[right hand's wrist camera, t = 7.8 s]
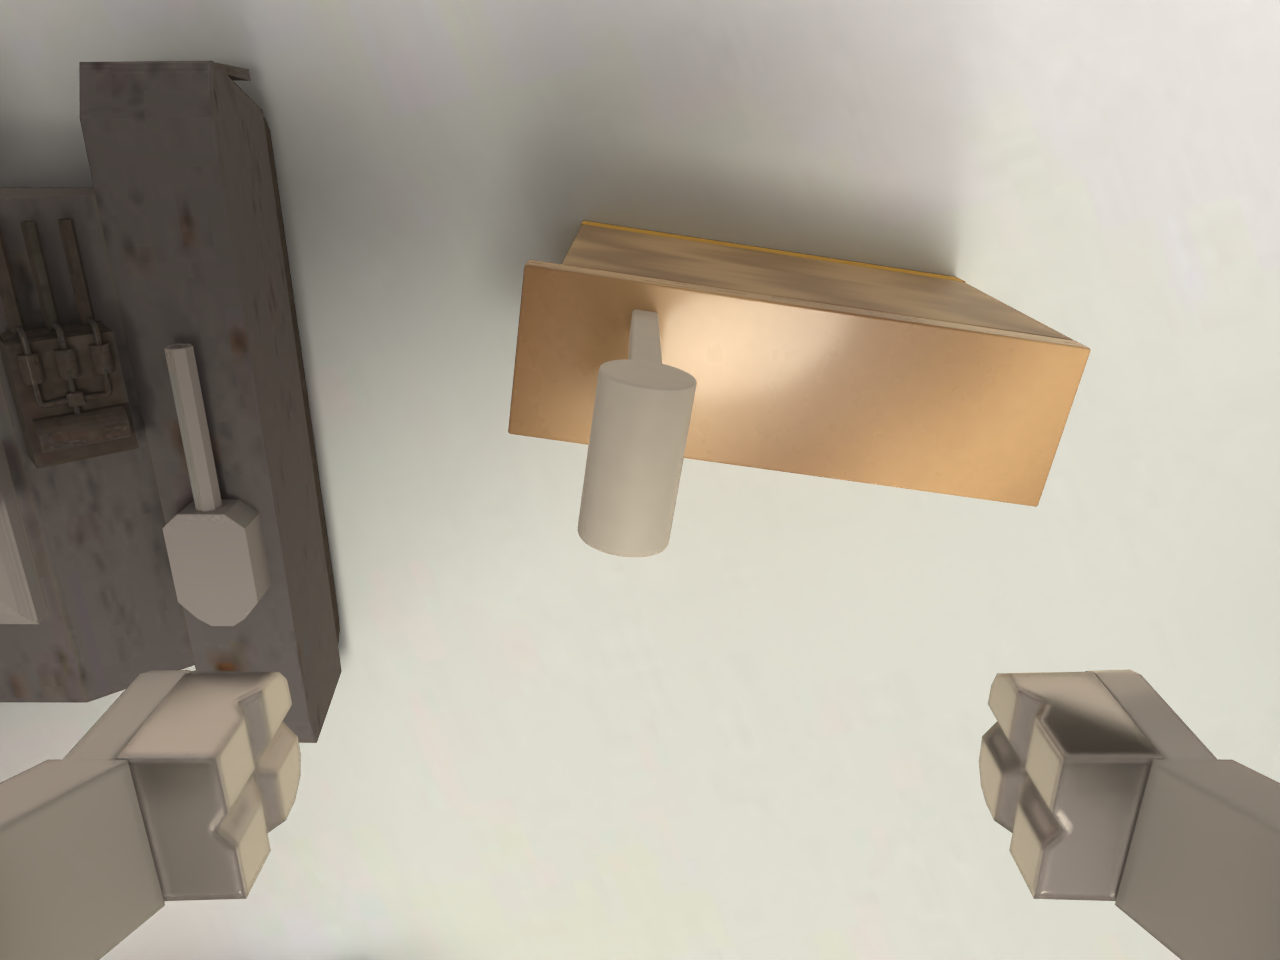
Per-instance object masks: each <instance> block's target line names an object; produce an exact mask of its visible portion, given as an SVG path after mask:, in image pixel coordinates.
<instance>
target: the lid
mask: <svg viewBox="0 0 1280 960" xmlns="http://www.w3.org/2000/svg"><path fill="white" fill-rule="evenodd" d="M1089 353H1090V348H1088V347H1086V346H1084V345H1082V344H1080V343H1078V342H1077V341H1073V340H1066V339H1059V338H1053V337H1046V336H1039V335H1033V334H1026V333H1019V332H1012V331H1006V330H999V329H992V328H986V327H979V326H972V325H965V324H959V323H952V322H945V321H939V320H932V319H925V318H918V317H912V316H905V315H898V314H891V313H885V312H878V311H871V310H865V309H858V308H851V307H844V306H838V305H831V304H824V303H818V302H811V301H804V300H797V299H791V298H784V297H777V296H770V295H764V294H757V293H750V292H744V291H737V290H730V289H723V288H717V287H710V286H703V285H697V284H690V283H683V282H676V281H670V280H663V279H656V278H649V277H643V276H636V275H629V274H623V273H616V272H609V271H602V270H596V269H589V268H582V267H576V266H569V265H562V264H555V263H549V262H542V261H535V260H529V261H528V262H527V263H526V265H525V266H524V275H523V285H522V296H521V306H520V316H519V327H518V337H517V347H516V357H515V368H514V378H513V388H512V398H511V409H510V419H509V429H508V432H509V433H510V434H516V435H523V436H530V437H538V438H545V439H552V440H559V441H566V442H574V443H581V444H588V445H589V447H588V455H587V462H586V470H585V477H584V485H583V492H582V500H581V507H580V515H579V522H578V533H579V536H580V537H581V539H582V540H583V541H584V542H585V543H586V544H588V545H589V546H591V547H593V548H595V549H597V550H599V551H602V552H605V553H608V554H612V555H617V556H624V557H646V556H651V555H655V554H658V553H660V552H662V551H663V550H664V549H665V548H666V547H667V545H668V543H669V538H670V532H671V527H672V521H673V515H674V510H675V504H676V498H677V493H678V487H679V481H680V476H681V470H682V464H683V459H684V458H689V459H696V460H704V461H711V462H718V463H725V464H733V465H740V466H747V467H754V468H761V469H769V470H776V471H783V472H790V473H798V474H805V475H812V476H819V477H826V478H834V479H841V480H848V481H855V482H863V483H870V484H877V485H884V486H892V487H899V488H906V489H913V490H920V491H928V492H935V493H942V494H949V495H957V496H964V497H971V498H978V499H985V500H993V501H1000V502H1007V503H1014V504H1022V505H1029V506H1038V503H1039V500H1040V497H1041V494H1042V491H1043V489H1044V486H1045V483H1046V480H1047V477H1048V474H1049V471H1050V468H1051V465H1052V462H1053V459H1054V456H1055V453H1056V450H1057V447H1058V444H1059V442H1060V439H1061V436H1062V433H1063V430H1064V427H1065V424H1066V421H1067V418H1068V415H1069V412H1070V409H1071V406H1072V403H1073V400H1074V397H1075V394H1076V392H1077V389H1078V386H1079V383H1080V380H1081V377H1082V374H1083V371H1084V368H1085V365H1086V362H1087V359H1088V356H1089Z"/></svg>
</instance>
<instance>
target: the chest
mask: <svg viewBox="0 0 1280 960" xmlns="http://www.w3.org/2000/svg"><path fill="white" fill-rule="evenodd" d="M562 265H569V266H576V267H582V268H589V269H596V270H602V271H609V272H616V273H623V274H629V275H636V276H643V277H649V278H656V279H663V280H670V281H676V282H683V283H690V284H697V285H703V286H710V287H717V288H723V289H730V290H737V291H744V292H750V293H757V294H764V295H770V296H777V297H784V298H791V299H797V300H804V301H811V302H818V303H824V304H831V305H838V306H844V307H851V308H858V309H865V310H871V311H878V312H885V313H891V314H898V315H905V316H912V317H918V318H925V319H932V320H939V321H945V322H952V323H959V324H965V325H972V326H979V327H986V328H992V329H999V330H1006V331H1012V332H1019V333H1026V334H1033V335H1039V336H1046V337H1053V338H1059V339H1066V340H1072V339H1070V338H1069V337H1067V336H1065V335H1063V334H1061V333H1059V332H1057V331H1055V330H1053V329H1052V328H1050V327H1048V326H1046V325H1044V324H1042V323H1040V322H1038V321H1036V320H1035V319H1033V318H1031V317H1029V316H1027V315H1025V314H1023V313H1021V312H1019V311H1017V310H1016V309H1014V308H1012V307H1010V306H1008V305H1006V304H1004V303H1002V302H1000V301H999V300H997V299H995V298H993V297H991V296H989V295H987V294H985V293H983V292H982V291H980V290H978V289H976V288H974V287H972V286H970V285H968V284H966V283H965V281H963V280H961V279H959V278H957V277H953V276H946V275H939V274H933V273H926V272H920V271H913V270H906V269H900V268H893V267H887V266H880V265H873V264H867V263H860V262H854V261H847V260H840V259H834V258H827V257H821V256H814V255H807V254H801V253H794V252H788V251H781V250H774V249H768V248H761V247H755V246H748V245H741V244H735V243H728V242H722V241H715V240H708V239H702V238H695V237H689V236H682V235H675V234H669V233H662V232H656V231H649V230H642V229H636V228H629V227H623V226H616V225H609V224H603V223H596V222H590V221H583V222H582V224H581V228H580V230H579V232H578V234H577V236H576V238H575V239H574V241H573V243H572V245H571V247H570V249H569V251H568V253H567V255H566V257H565V258H564V260H563V262H562Z"/></svg>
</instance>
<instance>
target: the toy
mask: <svg viewBox="0 0 1280 960" xmlns="http://www.w3.org/2000/svg"><path fill="white" fill-rule="evenodd" d="M233 80H250V74H249V69H244V68H239V67H234V66H229V65H224V64H219V63H215V62H213V61H159V62H80V121H81V126H82V131H83V136H84V141H85V146H86V151H87V156H88V161H89V165H90V170H91V175H92V180H93V185H94V188H0V702H89V701H92V700H95V699H98V698H101V697H104V696H107V695H109V694H112V693H115V692H118V691H121V690H124V689H127V688H128V686H129V685H130V684H131V683H132V682H133V681H134V680H135V679H136V678H137V677H138V676H139V674H141V673H145V672H148V671H152V670H181V669H184V668H187V667H190V666H193V665H195V667H196V671H245V672H279V673H281V674H282V675H283V676H284V677H285V678H286V679H287V682H288V687H289V691H290V696H291V701H292V705H291V707H290V709H289V710H288V712H287V714H286V716H285V717H284V719H283V722H284V723H285V724H286V725H287V726H288V727H289V728H290V729H291V730H292V731H293V732H294V733H295V734H296V735H297V736H298V741H299V742H302V743H317V740H318V737H319V735H320V732H321V729H322V726H323V723H324V720H325V717H326V714H327V711H328V709H329V706H330V703H331V700H332V697H333V694H334V691H335V688H336V685H337V682H338V680H339V677H340V674H341V665H340V657H339V650H338V641H339V617H338V610H337V603H336V596H335V589H334V582H333V575H332V567H331V560H330V553H329V546H328V539H327V532H326V525H325V518H324V511H323V504H322V497H321V489H320V482H319V475H318V468H317V461H316V454H315V447H314V440H313V433H312V426H311V419H310V411H309V404H308V397H307V390H306V383H305V376H304V369H303V362H302V355H301V348H300V341H299V333H298V326H297V319H296V312H295V305H294V298H293V291H292V284H291V277H290V270H289V262H288V255H287V248H286V241H285V234H284V227H283V220H282V213H281V206H280V199H279V192H278V184H277V177H276V170H275V163H274V156H273V149H272V142H271V135H270V130H269V127H268V125H267V122H266V120H265V118H264V116H263V112H262V110H261V109H260V108H259V107H258V106H257V105H256V104H255V103H254V102H253V101H252V100H251V99H250V98H249V97H248V96H247V95H246V94H245V93H244V92H243V91H242V90H241V89H240V88H239V87H238V86H237V85H236V84H235V83H234V81H233Z"/></svg>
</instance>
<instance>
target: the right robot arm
mask: <svg viewBox="0 0 1280 960" xmlns="http://www.w3.org/2000/svg"><path fill="white" fill-rule="evenodd" d="M291 705H292V701H291V696H290V691H289V687H288V682H287V679H286V678H285V677H284V676H283V675H282V674H281V673H279V672H245V671H196V670H195V671H189V670H152V671H148V672H145V673H141V674H139V676H138V677H137V678H136V679H135V680H134V681H133V682H132V683H131V684H130V685H129V686H128V688H127V689H126V690H125V691H124V692H123V693H122V694H121V695H120V696H119V698H118V699H117V700H116V701H115V702H114V703H113V704H112V705H111V706H110V708H109V709H108V710H107V711H106V712H105V713H104V714H103V715H102V716H101V717H100V719H99V720H98V721H97V722H96V723H95V724H94V725H93V726H92V727H91V729H90V730H89V731H88V732H87V733H86V734H85V735H84V736H83V737H82V739H81V740H80V741H79V742H78V743H77V744H76V745H75V746H74V747H73V748H72V750H71V751H70V752H69V753H68V754H67V755H66V756H65V757H64V758H63V760H46V761H44V762H42V763H40V764H38V765H36V766H34V767H32V768H30V769H28V770H26V771H24V772H22V773H20V774H18V775H16V776H14V777H12V778H10V779H8V780H6V781H4V782H1V783H0V960H99V959H100V958H102V957H103V956H104V955H105V954H106V953H108V952H109V951H110V950H111V949H113V948H114V947H115V946H116V945H117V944H119V943H120V942H121V941H122V940H123V939H125V938H126V937H127V936H128V935H129V934H131V933H132V932H133V931H134V930H135V929H137V928H138V927H139V926H140V925H141V924H143V923H144V922H145V921H146V920H148V919H149V918H150V917H151V916H152V915H154V914H155V913H156V912H157V911H158V910H160V909H161V908H162V907H163V906H164V905H165V903H164V901H178V900H213V899H246V898H247V896H248V894H249V892H250V890H251V888H252V886H253V884H254V882H255V880H256V878H257V876H258V874H259V872H260V870H261V868H262V866H263V864H264V863H265V861H266V859H267V857H268V855H269V853H270V851H271V850H270V845H269V840H268V834H267V833H268V832H270V831H271V830H273V829H274V828H275V827H277V826H278V825H280V824H281V823H283V822H284V821H285V820H286V819H287V817H288V814H289V812H290V810H291V808H292V806H293V804H294V802H295V798H296V794H297V789H298V784H299V780H300V771H301V754H300V748H299V741H298V736H297V735H296V734H295V733H294V732H293V731H292V730H291V729H290V728H289V727H288V726H287V725H286V724H285V723H284V722H283V719H284V717H285V716H286V714H287V712H288V710H289V709H290V707H291ZM988 705H989V707H990V709H991V710H992V712H993V714H994V716H995V717H996V719H997V722H996V723H995V724H994V725H993V726H992V727H991V728H990V729H989V730H988V731H987V732H986V733H985V734H984V735H983V736H982V742H981V750H980V757H979V768H980V780H981V787H982V791H983V794H984V798H985V801H986V804H987V806H988V808H989V810H990V812H991V815H992V817H993V819H994V820H995V821H996V822H997V823H999V824H1000V825H1002V826H1003V827H1005V828H1006V829H1007V830H1009V831H1010V832H1012V833H1013V834H1012V840H1011V845H1010V850H1009V851H1010V853H1011V855H1012V857H1013V859H1014V861H1015V862H1016V864H1017V866H1018V868H1019V870H1020V872H1021V874H1022V876H1023V878H1024V880H1025V882H1026V884H1027V886H1028V888H1029V890H1030V892H1031V894H1032V896H1033V898H1034V899H1065V900H1101V901H1116V902H1115V905H1116V906H1117V907H1118V908H1120V909H1121V910H1122V911H1123V912H1124V913H1126V914H1127V915H1128V916H1129V917H1130V918H1132V919H1133V920H1134V921H1135V922H1136V923H1138V924H1139V925H1140V926H1141V927H1143V928H1144V929H1145V930H1146V931H1147V932H1149V933H1150V934H1151V935H1152V936H1153V937H1155V938H1156V939H1157V940H1158V941H1159V942H1161V943H1162V944H1163V945H1164V946H1165V947H1167V948H1168V949H1169V950H1170V951H1171V952H1173V953H1174V954H1175V955H1176V956H1177V957H1179V958H1180V959H1181V960H1280V783H1278V782H1276V781H1274V780H1272V779H1270V778H1268V777H1266V776H1264V775H1262V774H1260V773H1258V772H1256V771H1254V770H1252V769H1250V768H1248V767H1246V766H1244V765H1242V764H1240V763H1238V762H1236V761H1234V760H1217V758H1216V757H1215V756H1214V755H1213V754H1212V753H1211V752H1210V751H1209V750H1208V749H1207V747H1206V746H1205V745H1204V744H1203V743H1202V742H1201V741H1200V740H1199V739H1198V737H1197V736H1196V735H1195V734H1194V733H1193V732H1192V731H1191V730H1190V729H1189V727H1188V726H1187V725H1186V724H1185V723H1184V722H1183V721H1182V720H1181V719H1180V717H1179V716H1178V715H1177V714H1176V713H1175V712H1174V711H1173V710H1172V709H1171V707H1170V706H1169V705H1168V704H1167V703H1166V702H1165V701H1164V700H1163V699H1162V698H1161V696H1160V695H1159V694H1158V693H1157V692H1156V691H1155V690H1154V689H1153V688H1152V686H1151V685H1150V684H1149V683H1148V682H1147V681H1146V680H1145V679H1144V678H1143V676H1142V675H1140V674H1138V673H1136V672H1134V671H1132V670H1105V671H1085V672H1052V673H997V675H996V677H995V679H994V681H993V683H992V685H991V690H990V695H989V700H988Z"/></svg>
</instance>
